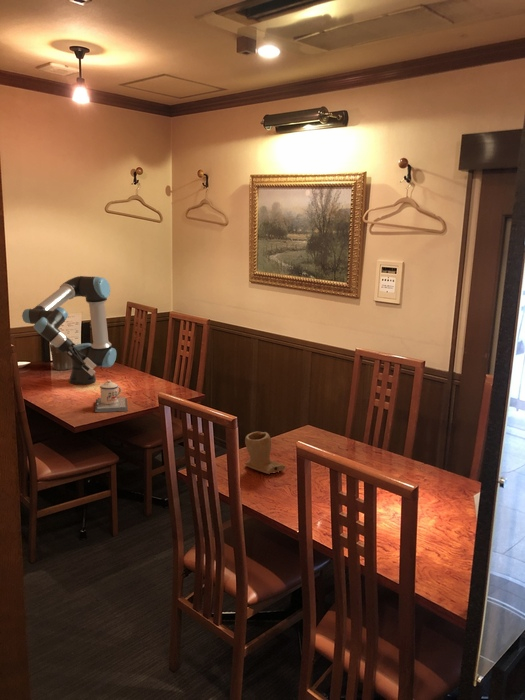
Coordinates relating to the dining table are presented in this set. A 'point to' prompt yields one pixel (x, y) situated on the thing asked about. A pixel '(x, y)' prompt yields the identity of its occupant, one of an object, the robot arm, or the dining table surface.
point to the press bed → (111, 405)
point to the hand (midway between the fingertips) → (94, 370)
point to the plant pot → (60, 359)
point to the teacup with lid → (109, 392)
